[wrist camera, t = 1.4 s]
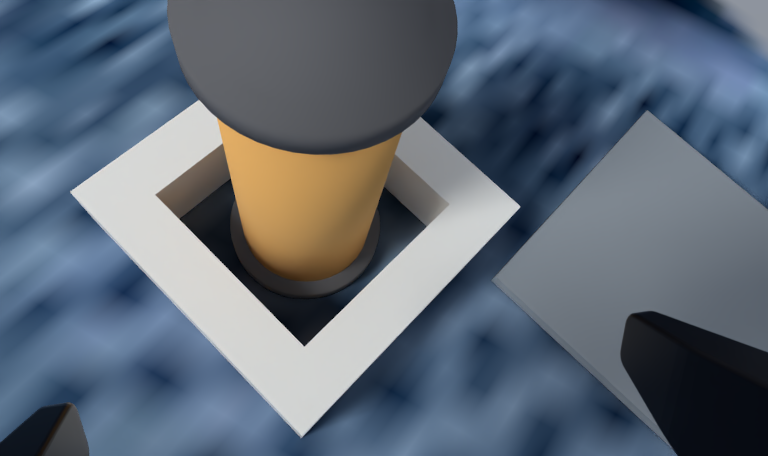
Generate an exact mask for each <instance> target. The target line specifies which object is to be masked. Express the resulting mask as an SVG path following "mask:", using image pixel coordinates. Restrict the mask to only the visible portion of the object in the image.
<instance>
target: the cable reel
mask: <svg viewBox="0 0 768 456" xmlns="http://www.w3.org/2000/svg"><path fill="white" fill-rule="evenodd" d="M167 15H168V23H169V30H170V33H171V37H172V40H173V43H174V47H175V50H176V53H177V57H178V60H179V63H180V67H181V70H182V72H183V74H184V76H185V78H186V80H187V82H188V85H189V86H190V87H191V89H192V90H193V92H194V93H195V95H196V96H197V98H198V99H199V100H200V101H201V102H202V104H203V105H204V106H205V107H206V108H207V109H208V110H209V111H210V112H211V113H212V114H213V115H214V116H216V117H217V121H218V125H219V129H220V133H221V138H222V142H223V146H224V150H225V155H226V159H227V163H228V168H229V172H230V176H231V180H232V185H233V189H234V193H235V197H236V199H235V201H234V204H233V207H232V211H231V217H230V231H231V238H232V241H233V245H234V248H235V251H236V254H237V256H238V259H239V261H240V263H241V264H242V266H243V267H244V269H245V270H246V271H247V273H248V274H249V275H250V276H251V277H252V278H253V279H254V280H255V281H256V282H257V283H259V284H260V285H262V286H263V287H265V288H266V289H268V290H270V291H272V292H274V293H276V294H279V295H282V296H285V297H290V298H295V299H315V298H321V297H325V296H328V295H332V294H334V293H336V292H339V291H341V290H343V289H344V288H346V287H347V286H349V285H350V284H352V283H353V282H354V281H355V280H356V279H358V277H359V276H360V275H361V274H362V273H363V272H364V271H365V269H366V268H367V266H368V265H369V263H370V261H371V259H372V257H373V255H374V252H375V250H376V247H377V244H378V240H379V234H380V216H379V211H378V207H377V205H378V202H379V199H380V196H381V193H382V190H383V187H384V184H385V182H386V179H387V176H388V173H389V170H390V167H391V164H392V161H393V158H394V155H395V152H396V149H397V146H398V143H399V140H400V137H401V134H402V132H403V131H404V130H406V129H407V128H408V127H410V126H411V125H412V124H413V123H415V122H416V121H417V120H418V119H419V118H420V117H421V116H422V115H423V114H424V113H425V112H426V110H427V109H428V108H429V106H430V105H431V104H432V102H433V101H434V99H435V98H436V96H437V94H438V92H439V90H440V88H441V86H442V84H443V81H444V79H445V76H446V74H447V71H448V69H449V66H450V64H451V61H452V58H453V55H454V51H455V47H456V41H457V15H456V9H455V4H454V1H453V0H168V6H167Z"/></svg>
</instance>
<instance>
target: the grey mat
mask: <svg viewBox="0 0 768 456" xmlns="http://www.w3.org/2000/svg"><path fill="white" fill-rule="evenodd" d="M491 281H492V282H493V283H494V284H496V285H497V286H498V287H499V288H500V289H501V290H502V291H503V292H504V293H505V294H506V295H507V296H508V297H510V298H511V299H512V300H513V301H514V302H515V303H516V304H517V305H518V306H519V307H520V308H521V309H522V310H523V311H525V312H526V313H527V314H528V315H529V316H530V317H531V318H532V319H533V320H534V321H535V322H536V323H537V324H539V325H540V326H541V327H542V328H543V329H544V330H545V331H546V332H547V333H548V334H549V335H550V336H551V337H553V338H554V339H555V340H556V341H557V342H558V343H559V344H560V345H561V346H562V347H563V348H564V349H565V350H567V351H568V352H569V353H570V354H571V355H572V356H573V357H574V358H575V359H576V360H577V361H578V362H579V363H581V364H582V365H583V366H584V367H585V368H586V369H587V370H588V371H589V372H590V373H591V374H592V375H593V376H595V377H596V378H597V379H598V380H599V381H600V382H601V383H602V384H603V385H604V386H605V387H606V388H607V389H608V390H610V391H611V392H612V393H613V394H614V395H615V396H616V397H617V398H618V399H619V400H620V401H621V402H622V403H624V404H625V405H626V406H627V407H628V408H629V409H630V410H631V411H632V412H633V413H634V414H635V415H636V416H638V417H639V418H640V419H641V420H642V421H643V422H644V423H645V424H646V425H647V426H648V427H649V428H650V429H652V430H653V431H654V432H655V433H656V434H657V435H658V436H659V437H660V438H661V439H662V440H663V441H664V442H666V443H667V444H668V445H669V446H670V444H669V443H668V441H667V440H666V438H665V436H664V435H663V433H662V432H661V430H660V428H659V427H658V425H657V423H656V422H655V420H654V418H653V416H652V415H651V413H650V411H649V410H648V408H647V406H646V405H645V403H644V401H643V399H642V398H641V396H640V394H639V393H638V391H637V389H636V387H635V386H634V384H633V382H632V381H631V379H630V377H629V375H628V374H627V372H626V370H625V369H624V367H623V365H622V362H621V358H620V349H621V344H622V338H623V333H624V328H625V322H626V319H627V317H628V316H629V315H630V314H632V313H637V312H643V311H656V312H658V313H661V314H664V315H667V316H669V317H672V318H675V319H678V320H680V321H683V322H686V323H689V324H691V325H694V326H697V327H700V328H703V329H705V330H708V331H711V332H714V333H716V334H719V335H722V336H725V337H727V338H730V339H733V340H736V341H738V342H741V343H744V344H747V345H749V346H752V347H755V348H758V349H761V350H763V351H766V352H768V209H766V208H765V207H764V206H763V205H762V204H760V203H759V202H758V201H757V200H756V199H754V198H753V197H752V196H751V195H749V194H748V193H747V192H746V191H745V190H743V189H742V188H741V187H740V186H739V185H737V184H736V183H735V182H734V181H733V180H731V179H730V178H729V177H728V176H726V175H725V174H724V173H723V172H722V171H720V170H719V169H718V168H717V167H716V166H714V165H713V164H712V163H711V162H710V161H708V160H707V159H706V158H705V157H703V156H702V155H701V154H700V153H699V152H697V151H696V150H695V149H694V148H693V147H691V146H690V145H689V144H688V143H686V142H685V141H684V140H683V139H682V138H680V137H679V136H678V135H677V134H676V133H674V132H673V131H672V130H671V129H670V128H668V127H667V126H666V125H665V124H663V123H662V122H661V121H660V120H659V119H657V118H656V117H655V116H654V115H653V114H651V113H650V112H649V111H648V110H647V111H646V112H645V113H644V114H643V115H642V116H641V117H640V118H639V119H638V120H637V121H636V122H635V123H634V125H633V126H632V127H631V128H630V129H629V130H628V131H627V132H626V133H625V134H624V135H623V137H622V138H621V139H620V140H619V141H618V142H617V143H616V144H615V145H614V146H613V148H612V149H611V150H610V151H609V152H608V153H607V154H606V155H605V156H604V157H603V158H602V160H601V161H600V162H599V163H598V164H597V165H596V166H595V167H594V168H593V169H592V170H591V172H590V173H589V174H588V175H587V176H586V177H585V178H584V179H583V180H582V181H581V183H580V184H579V185H578V186H577V187H576V188H575V189H574V190H573V191H572V192H571V193H570V195H569V196H568V197H567V198H566V199H565V200H564V201H563V202H562V203H561V204H560V205H559V207H558V208H557V209H556V210H555V211H554V212H553V213H552V214H551V215H550V216H549V218H548V219H547V220H546V221H545V222H544V223H543V224H542V225H541V226H540V227H539V228H538V230H537V231H536V232H535V233H534V234H533V235H532V236H531V237H530V238H529V239H528V240H527V242H526V243H525V244H524V245H523V246H522V247H521V248H520V249H519V250H518V251H517V253H516V254H515V255H514V256H513V257H512V258H511V259H510V260H509V261H508V262H507V263H506V265H505V266H504V267H503V268H502V269H501V270H500V271H499V272H498V273H497V274H496V275H495V277H494V278H493V279H492V280H491ZM670 447H671V446H670ZM671 448H672V447H671ZM672 449H673V448H672Z"/></svg>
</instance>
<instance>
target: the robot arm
mask: <svg viewBox="0 0 768 456" xmlns="http://www.w3.org/2000/svg"><path fill="white" fill-rule="evenodd" d="M620 358H621V362H622V365H623V367H624V369H625V370H626V372H627V374H628V375H629V377H630V379H631V381H632V382H633V384H634V386H635V387H636V389H637V391H638V393H639V394H640V396H641V398H642V399H643V401H644V403H645V405H646V406H647V408H648V410H649V411H650V413H651V415H652V416H653V418H654V420H655V422H656V423H657V425H658V427H659V428H660V430H661V432H662V433H663V435H664V436H665V438H666V440H667V441H668V443H669V444H670V446H671V447H672V448H673V450H674V451H675V453H676V454H677V456H768V352H766V351H763V350H761V349H758V348H755V347H752V346H749V345H747V344H744V343H741V342H738V341H736V340H733V339H730V338H727V337H725V336H722V335H719V334H716V333H714V332H711V331H708V330H705V329H703V328H700V327H697V326H694V325H691V324H689V323H686V322H683V321H680V320H678V319H675V318H672V317H669V316H667V315H664V314H661V313H658V312H656V311H643V312H637V313H632V314H630V315H629V316H628V317H627V319H626V322H625V328H624V333H623V338H622V344H621V349H620ZM0 456H89V447H88V442H87V439H86V436H85V433H84V429H83V426H82V423H81V420H80V417H79V414H78V411H77V408H76V407H75V405H74V404H72V403H70V402H67V403H61V404H54V405H48V406H44V407H41V408H40V409H38V410H37V411H36V412H35V413H34V414H32V415H31V416H30V417H29V418H28V419H27V420H26V421H24V422H23V423H22V424H21V425H20V426H19V427H17V428H16V429H15V430H14V431H13V432H12V433H11V434H9V435H8V436H7V437H6V438H5V439H4V440H3V441H1V442H0Z"/></svg>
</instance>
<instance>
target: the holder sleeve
mask: <svg viewBox="0 0 768 456" xmlns="http://www.w3.org/2000/svg"><path fill="white" fill-rule="evenodd" d="M230 178H231V176H230V172H229V168H228V163H227V159H226V155H225V150H224V146H223V142H222V138H221V133H220V129H219V125H218V121H217V117H216V116H214V115H213V114H212V113H211V112H210V111H209V110H208V109H207V108H206V107H205V106H204V105H203V104H202V102H201V101H200V100H198V101H197V102H196V103H194V104H193V105H191V106H190V107H189V108H187V109H186V110H184V111H183V112H181V113H180V114H179V115H177V116H176V117H174V118H173V119H172V120H170V121H169V122H167V123H166V124H165V125H163V126H162V127H160V128H159V129H158V130H156V131H155V132H153V133H152V134H151V135H149V136H148V137H146V138H145V139H144V140H142V141H141V142H139V143H138V144H137V145H135V146H134V147H132V148H131V149H130V150H128V151H127V152H125V153H124V154H123V155H121V156H120V157H118V158H117V159H115V160H114V161H113V162H111V163H110V164H108V165H107V166H106V167H104V168H103V169H101V170H100V171H99V172H97V173H96V174H94V175H93V176H92V177H90V178H89V179H87V180H86V181H85V182H83V183H82V184H80V185H79V186H78V187H76V188H75V189H73V190H72V191H71V194H72V195H73V196H74V197H75V198H76V199H77V200H78V202H79V203H80V204H81V205H82V206H83V207H84V208H85V210H86V211H87V212H88V213H89V214H90V215H91V217H92V218H93V219H94V220H95V221H96V222H97V223H98V224H99V225H100V227H101V228H102V229H103V230H104V231H105V232H106V233H107V234H108V235H109V236H110V237H111V238H112V239H113V240H114V241H115V242H116V243H117V244H118V246H119V247H120V248H121V249H122V250H123V251H124V252H125V253H126V254H127V255H128V256H129V257H130V258H131V259H132V260H133V261H134V262H135V263H136V264H137V266H138V267H139V268H140V269H141V270H142V271H143V272H144V273H145V274H146V275H147V276H148V277H149V278H150V279H151V280H152V281H153V282H154V283H155V284H156V286H157V287H158V288H159V289H160V290H161V291H162V292H163V293H164V294H165V295H166V296H167V297H168V298H169V299H170V300H171V301H172V302H173V303H174V305H175V306H176V307H177V308H178V309H179V310H180V311H181V312H182V313H183V314H184V315H185V316H186V317H187V318H188V319H189V320H190V321H191V322H192V323H193V325H194V326H195V327H196V328H197V329H198V330H199V331H200V332H201V333H202V334H203V335H204V336H205V337H206V338H207V339H208V340H209V341H210V342H211V343H212V345H213V346H214V347H215V348H216V349H217V350H218V351H219V352H220V353H221V354H222V355H223V356H224V357H225V358H226V359H227V360H228V361H229V362H230V364H231V365H232V366H233V367H234V368H235V369H236V370H237V371H238V372H239V373H240V374H241V375H242V376H243V377H244V378H245V379H246V380H247V381H248V382H249V384H250V385H251V386H252V387H253V388H254V389H255V390H256V391H257V392H258V393H259V394H260V395H261V396H262V397H263V398H264V399H265V400H266V401H267V402H268V404H269V405H270V406H271V407H272V408H273V409H274V410H275V411H276V412H277V413H278V414H279V415H280V416H281V417H282V418H283V419H284V420H285V421H286V423H287V424H288V425H289V426H290V427H291V428H292V429H293V430H294V431H295V432H296V433H297V434H298V435H299V436H300V437H301V438H302V437H303V436H304V435H305V434H306V433H307V432H308V431H309V430H310V429H311V428H312V427H313V425H314V424H315V423H316V422H317V421H318V420H319V419H320V418H321V417H322V416H323V415H324V414H325V413H326V412H327V411H328V410H329V409H330V408H331V407H332V405H333V404H334V403H335V402H336V401H337V400H338V399H339V398H340V397H341V396H342V395H343V394H344V393H345V392H346V391H347V390H348V389H349V388H350V387H351V385H352V384H353V383H354V382H355V381H356V380H357V379H358V378H359V377H360V376H361V375H362V374H363V373H364V372H365V371H366V370H367V369H368V368H369V367H370V365H371V364H372V363H373V362H374V361H375V360H376V359H377V358H378V357H379V356H380V355H381V354H382V353H383V352H384V351H385V350H386V349H387V348H388V347H389V345H390V344H391V343H392V342H393V341H394V340H395V339H396V338H397V337H398V336H399V335H400V334H401V333H402V332H403V331H404V330H405V329H406V328H407V327H408V325H409V324H410V323H411V322H412V321H413V320H414V319H415V318H416V317H417V316H418V315H419V314H420V313H421V312H422V311H423V310H424V309H425V308H426V307H427V305H428V304H429V303H430V302H431V301H432V300H433V299H434V298H435V297H436V296H437V295H438V294H439V293H440V292H441V291H442V290H443V289H444V288H445V287H446V285H447V284H448V283H449V282H450V281H451V280H452V279H453V278H454V277H455V276H456V275H457V274H458V273H459V272H460V271H461V270H462V269H463V268H464V267H465V265H466V264H467V263H468V262H469V261H470V260H471V259H472V258H473V257H474V256H475V255H476V254H477V253H478V252H479V251H480V250H481V249H482V248H483V247H484V246H485V244H486V243H487V242H488V241H489V240H490V239H491V238H492V237H493V236H494V235H495V234H496V233H497V232H498V231H499V230H500V229H501V227H502V226H503V225H504V224H505V223H506V222H507V221H508V220H509V219H510V218H511V217H512V216H513V215H514V213H515V212H516V211H517V210H518V209H519V208H520V206H519V205H518V204H517V203H516V202H515V201H514V200H513V199H512V198H510V197H509V196H508V195H507V194H506V193H505V192H504V191H503V190H501V189H500V188H499V187H498V186H497V185H496V184H495V183H494V182H493V181H491V180H490V179H489V178H488V177H487V176H486V175H485V174H484V173H482V172H481V171H480V170H479V169H478V168H477V167H476V166H475V165H474V164H472V163H471V162H470V161H469V160H468V159H467V158H466V157H465V156H463V155H462V154H461V153H460V152H459V151H458V150H457V149H456V148H455V147H453V146H452V145H451V144H450V143H449V142H448V141H447V140H446V139H444V138H443V137H442V136H441V135H440V134H439V133H438V132H437V131H436V130H434V129H433V128H432V127H431V126H430V125H429V124H428V123H427V122H425V121H424V120H423V119H422V118H421V117H420V118H419V119H418V120H417V121H416V122H415V123H413V124H412V125H411V126H410V127H408V128H407V129H406V130H404V131H403V132H402V134H401V137H400V140H399V143H398V146H397V149H396V152H395V155H394V158H393V161H392V164H391V167H390V170H389V173H388V176H387V179H386V182H385V184H384V187H385V188H386V189H387V190H388V191H389V192H390V193H391V194H393V195H394V196H395V197H396V198H397V199H398V200H399V201H400V202H401V203H402V204H403V205H404V206H405V207H406V208H408V209H409V210H410V211H411V212H412V213H413V214H414V215H415V216H416V217H417V218H418V219H419V220H420V221H422V222H423V223H424V224H425V225H426V226H427V227H426V228H425V229H424V230H423V231H422V232H421V233H420V234H419V235H418V236H417V237H416V238H415V239H414V240H413V241H412V242H411V243H410V244H409V245H408V246H407V247H406V248H405V249H404V250H403V251H402V252H401V253H400V254H399V255H398V256H397V257H396V258H395V259H394V260H393V261H392V262H390V263H389V264H388V265H387V266H386V267H385V268H384V269H383V270H382V271H381V272H380V273H379V274H378V275H377V276H376V277H375V278H374V279H373V280H372V281H371V282H370V283H369V284H368V285H367V286H366V287H365V288H364V289H363V290H362V291H361V292H360V293H359V294H358V295H357V296H356V297H355V298H354V299H353V300H352V301H351V302H350V303H349V304H348V305H347V306H346V307H345V308H344V309H342V310H341V311H340V312H339V313H338V314H337V315H336V316H335V317H334V318H333V319H332V320H331V321H330V322H329V323H328V324H327V325H326V326H325V327H324V328H323V329H322V330H321V331H320V332H319V333H318V334H317V335H316V336H315V337H314V338H313V339H312V340H311V341H310V342H309V343H308V344H307V345H306V346H305V347H304V346H303V345H302V344H301V343H300V342H299V341H298V340H297V339H296V338H295V337H294V336H293V335H292V334H291V333H290V332H289V331H288V330H287V329H286V328H285V327H284V326H283V325H282V323H281V322H280V321H279V320H278V319H277V318H276V317H275V316H274V315H273V314H272V313H271V312H270V311H269V310H268V309H267V308H266V307H265V306H264V305H263V304H262V303H261V302H260V301H259V300H258V299H257V298H256V297H255V296H254V295H253V294H252V293H251V292H250V291H249V290H248V289H247V288H246V287H245V286H244V285H243V284H242V283H241V282H240V281H239V280H238V279H237V278H236V277H235V276H234V275H233V274H232V273H231V272H230V271H229V270H228V268H227V267H226V266H225V265H224V264H223V263H222V262H221V261H220V260H219V259H218V258H217V257H216V256H215V255H214V254H213V253H212V252H211V251H210V250H209V249H208V248H207V247H206V246H205V245H204V244H203V243H202V242H201V241H200V240H199V239H198V238H197V237H196V236H195V235H194V234H193V233H192V232H191V231H190V230H189V229H188V228H187V227H186V226H185V225H184V224H183V223H182V222H181V221H180V220H179V219H180V218H181V217H182V216H184V215H185V214H186V213H187V212H189V211H190V210H191V209H193V208H194V207H195V206H196V205H198V204H199V203H200V202H201V201H203V200H204V199H205V198H206V197H208V196H209V195H210V194H211V193H213V192H214V191H215V190H217V189H218V188H219V187H220V186H222V185H223V184H224V183H225V182H227V181H228V180H229V179H230Z"/></svg>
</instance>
